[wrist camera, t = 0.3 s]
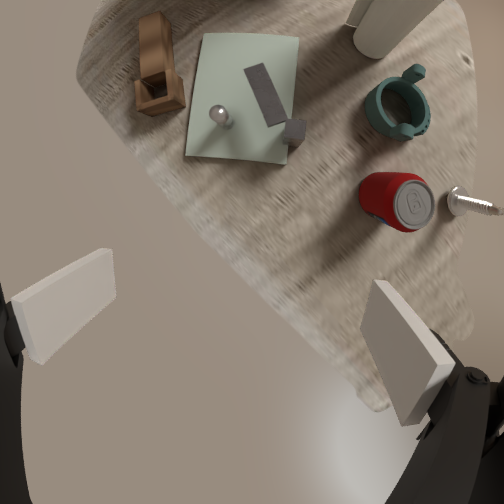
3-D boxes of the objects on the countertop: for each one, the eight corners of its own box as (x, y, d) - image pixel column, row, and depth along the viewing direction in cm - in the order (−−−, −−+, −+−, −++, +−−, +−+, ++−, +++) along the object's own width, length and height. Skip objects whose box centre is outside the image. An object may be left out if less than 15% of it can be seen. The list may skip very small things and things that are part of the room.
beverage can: (367, 225, 38) (400, 246, 26) (349, 182, 36) (379, 187, 25) (403, 207, 36) (446, 221, 25) (387, 165, 35) (428, 164, 23)
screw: (466, 199, 35) (452, 220, 36) (451, 178, 34) (436, 199, 35) (516, 212, 22) (501, 239, 23) (503, 185, 22) (487, 213, 23)
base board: (206, 36, 32) (204, 33, 30) (298, 40, 31) (299, 37, 30) (188, 155, 37) (185, 155, 36) (285, 164, 36) (286, 164, 35)
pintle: (221, 115, 34) (209, 104, 28) (235, 116, 34) (227, 104, 28) (219, 129, 35) (207, 120, 28) (234, 130, 35) (225, 121, 28)
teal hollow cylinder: (379, 147, 34) (406, 141, 26) (354, 90, 32) (374, 70, 24) (424, 132, 33) (456, 126, 24) (401, 78, 31) (428, 61, 22)
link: (145, 32, 31) (132, 20, 27) (176, 21, 31) (166, 8, 26) (151, 116, 36) (136, 110, 31) (185, 106, 35) (174, 98, 30)
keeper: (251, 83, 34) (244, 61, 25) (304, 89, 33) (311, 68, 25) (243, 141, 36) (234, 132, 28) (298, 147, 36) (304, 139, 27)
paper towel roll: (392, 60, 30) (464, -1, 9) (358, 59, 31) (416, -15, 10) (379, 24, 28) (432, -47, 8) (345, 23, 29) (384, -60, 8)
